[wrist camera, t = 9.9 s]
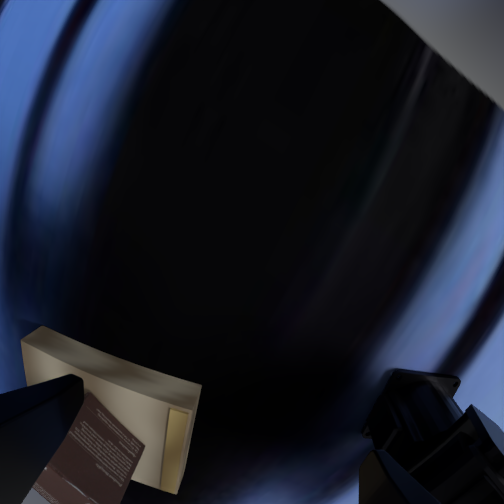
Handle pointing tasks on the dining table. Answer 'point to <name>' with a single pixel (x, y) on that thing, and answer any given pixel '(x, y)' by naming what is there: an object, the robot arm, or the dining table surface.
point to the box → (91, 460)
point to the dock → (125, 400)
